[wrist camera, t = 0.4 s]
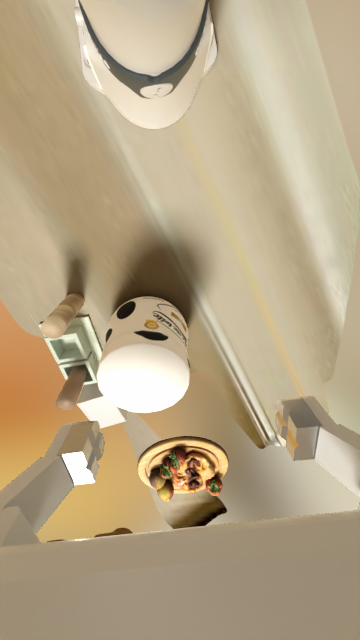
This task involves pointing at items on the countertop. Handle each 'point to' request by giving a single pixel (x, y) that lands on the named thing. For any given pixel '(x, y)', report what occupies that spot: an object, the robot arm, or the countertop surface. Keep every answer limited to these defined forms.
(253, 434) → the countertop surface
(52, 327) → the beech peg
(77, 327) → the pin board
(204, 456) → the wooden plate with food
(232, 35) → the countertop surface
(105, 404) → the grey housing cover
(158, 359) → the milk container
